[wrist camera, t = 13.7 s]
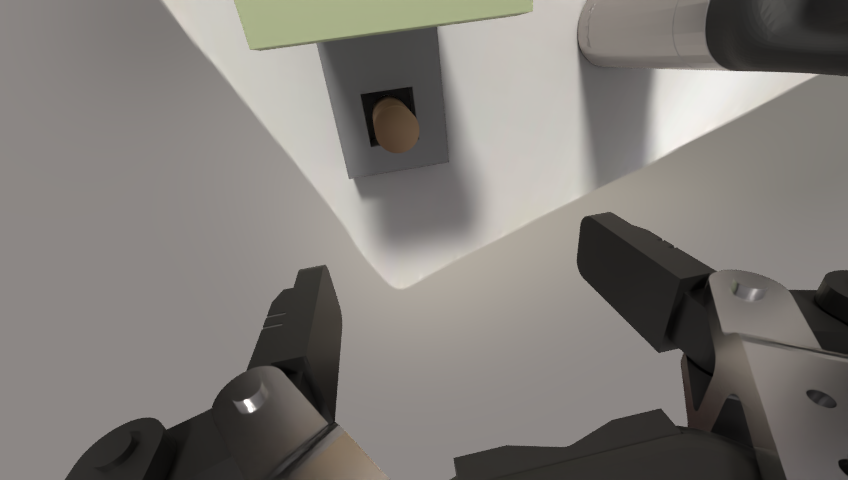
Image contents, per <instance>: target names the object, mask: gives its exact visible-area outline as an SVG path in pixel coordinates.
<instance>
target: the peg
mask: <svg viewBox="0 0 848 480" xmlns="http://www.w3.org/2000/svg"><path fill="white" fill-rule="evenodd" d="M372 117H373V124H374V130H375V135H376V139H377V141H378V143H379V144H380V145H381V146H382V147H383V148H384V149H385V150H387V151H389V152H392V153H403V152H406V151H408V150H410V149H411V148H412V147H413V146H414V145H415V143H416V142H417V140H418V137H419V124H418V121H417V119H416V117H415V116H414V115H413V114H412V112H411V111H410V110H409V109H408V108H407V107H406V106H405V105H404V104H403V103H402V102H401V100H400V99H398V98H397V97H395V96H393V95H383V96H381V97H379V98H378V99H377V100H376V101H375V102H374V104H373V107H372Z"/></svg>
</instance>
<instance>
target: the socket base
mask: <svg viewBox="0 0 848 480" xmlns="http://www.w3.org/2000/svg"><path fill="white" fill-rule="evenodd" d="M234 2H235V5H236V8H237V11H238V14H239V17H240V20H241V23H242V26H243V30H244V33H245V36H246V39H247V42H248V45H249V48H250V50H260V51H261V50H269V49H276V48H283V47H291V46H298V45H305V44H313V43H317V47H318V51H319V56H320V60H321V64H322V68H323V72H324V76H325V81H326V85H327V89H328V93H329V97H330V101H331V106H332V110H333V114H334V118H335V122H336V126H337V131H338V135H339V139H340V143H341V147H342V151H343V156H344V160H345V164H346V168H347V172H348V176H349V179H352V178H358V177H364V176H370V175H375V174H381V173H387V172H393V171H399V170H405V169H411V168H417V167H423V166H429V165H435V164H440V163H446V162H449V158H448V147H447V135H446V124H445V113H444V102H443V91H442V80H441V69H440V58H439V47H438V35H437V26H445V25H452V24H459V23H466V22H474V21H481V20H488V19H496V18H503V17H510V16H517V15H521V14H524V13H528V12H531V11H533V0H234ZM405 87H409V94H410V102H411V109H412V114H413V115H414V116H415V117H416V119H417V121H418V124H419V137H418V140H417V142H416V143H415V145H414V146H413V147H412V148H411V149H410V150H408V151H406V152H403V153H392V152H389V151H387V150H385V149H384V148H383V147H382V146H381V145H380V144H379V143H378V141H377V139H373V140H370V137H369V132H368V127H367V122H366V117H365V111H364V106H363V101H362V96H361V94H365V93H372V92H378V91H385V90H392V89H398V88H405Z"/></svg>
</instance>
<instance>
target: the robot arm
mask: <svg viewBox="0 0 848 480" xmlns="http://www.w3.org/2000/svg"><path fill="white" fill-rule="evenodd" d="M578 41H579V46H580V48H581V51H582V53H583V55H584V56H585V57H586V59H587V60H588V61H590V62H591V63H592V64H594V65H597V66H601V67H622V68H650V69H683V70H722V71H765V72H793V73H812V74H826V75H840V76H848V0H587V2H586V3H585V5H584V7H583V10H582V13H581V16H580V19H579V25H578ZM577 265H578V269H579V272H580V274H581V276H582V277H583V278H584V279H585V280H586V281H587V282H588V283H589V284H590V285H591V286H592V287H593V288H594V289H595V290H596V291H597V292H598V293H599V294H600V295H601V296H602V297H603V298H604V299H605V300H606V301H607V302H608V303H609V304H610V305H611V306H612V307H613V308H614V309H615V310H616V311H617V312H618V313H619V314H620V315H621V316H622V317H623V318H624V319H625V320H626V321H627V322H628V323H629V324H630V325H631V326H632V327H633V328H634V329H635V330H636V331H637V332H638V333H639V334H640V335H641V336H642V337H643V338H645V340H646V341H648V343H650V345H651V346H652V347H654V349H655V350H656V351H657V352H658V353H661V352H665V351H669V350H673V349H678V348H679V349H681V350H682V351H683V352H684V353H683V356H682V359H681V370H682V379H683V387H684V396H685V404H686V412H687V421H688V427H683V426H675V425H674V423H673V422H672V421H671V420H670V419H669V417H668V416H667V415H666V414H665V413H664V412H663V411H662V409H657V410H652V411H649V412H644V413H640V414H636V415H632V416H628V417H624V418H619V419H615V420H611V421H610V422H608V423H607V424H605V425H603V426H602V427H600V428H598V429H597V430H595V431H594V432H592V433H590V434H589V435H587V436H585V437H584V438H583V439H581V440H579V441H577V442H576V443H574V444H572V445H570V446H567V447H537V446H507V445H506V446H502V447H498V448H494V449H490V450H486V451H481V452H477V453H473V454H469V455H465V456H460V457H456V458H454V464H455V471H456V476H455V477H454V478H452V479H451V480H848V270H840V271H833V272H830V273H828V274H826V275H825V277H824V279H823V281H822V283H821V285H820V286H819V288H818V290H788V289H786V288H785V287H784V286H783V285H781V284H780V283H778V282H776V281H774V280H772V279H770V278H767V277H765V276H762V275H759V274H756V273H752V272H747V271H741V270H721V271H715V270H714V269H712V268H710V267H709V266H707V265H705V264H703V263H702V262H700V261H698V260H697V259H695V258H693V257H692V256H690V255H688V254H687V253H685V252H683V251H682V250H680V249H678V248H674V246H673V245H672V244H670V243H668V242H667V241H665V240H664V241H662V239H661V238H660V237H658V236H657V235H655V234H653V233H652V232H650V231H648V230H646V229H643V228H640V227H637V226H634V225H631V224H630V223H628V222H626V221H625V220H623V219H621V218H620V217H618V216H617V215H615V214H613V213H611V212H607V213H601V214H596V215H591V216H586V217H584V218H583V219H582V222H581V226H580V235H579V244H578V253H577ZM341 335H342V315H341V310H340V306H339V302H338V299H337V296H336V293H335V289H334V286H333V283H332V280H331V277H330V273H329V270H328V268H327V266H326V265H322V266H316V267H311V268H306V269H300V270H299V272H298V275H297V278H296V281H295V284H294V288H290V289H285V290H283V291H282V292H281V293H280V294H279V295H278V296H277V298H276V299H275V300H274V301H273V302H272V304H271V307H270V309H269V312H268V315H267V318H266V320H265V323H264V325H263V330H262V331H261V333H260V336H259V339H258V341H257V344H256V347H255V349H254V352H253V355H252V357H251V360H250V363H249V365H248V368H247V371H245V372H243V373H241V374H240V375H238V376H236V377H235V378H234V379H232V380H231V381H230V382H229V383H228V384H226V386H224V387H223V389H222V390H221V391H220V392H219V394H218V395H217V397H216V398H215V400H214V402H213V405H212V408H211V409H210V410H208V411H205V412H204V413H201V414H199V415H197V416H195V417H193V418H191V419H189V420H187V421H184V422H182V423H180V424H178V425H176V426H174V427H172V428H170V429H167V430H166V429H165V427H164V426H163V425H162V424H161V422H159V420H157V419H155V418H141V419H136V420H133V421H130V422H128V423H125V424H123V425H121V426H119V427H118V428H116V429H114V430H112V431H111V432H109V433H108V434H106V435H105V436H104V437H102V438H101V439H99V440H98V441H97V442H96V443H95V444H93V445H92V446H91V447H90V448H89V449H88V450H87V451H86V452H85V453H84V454H83V455H82V457H81V458H80V459H79V460H78V461H77V463H76V464H75V465H74V467H73V468H72V470H71V471H70V473H69V474H68V476H67V477H66V479H65V480H390V479H389V478H388V477H387V476H386V475H385V474H384V473H383V472H382V471H381V469H380V468H379V467H378V466H377V465H376V464H375V463H374V462H373V461H372V460H371V459H370V457H369V456H368V455H367V454H366V453H365V452H364V451H363V450H362V449H361V448H360V446H359V445H358V444H357V443H356V442H355V441H354V440H353V439H352V438H351V437H350V436H349V434H348V433H347V432H346V431H345V430H344V429H343V428H342V427H341V426H340V425H338V424H337V423H336V422H335V411H336V398H337V386H338V373H339V360H340V348H341Z"/></svg>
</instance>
